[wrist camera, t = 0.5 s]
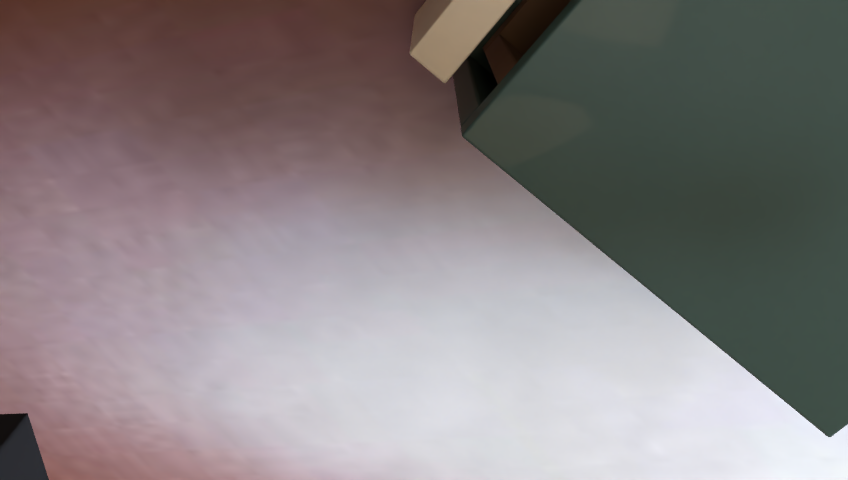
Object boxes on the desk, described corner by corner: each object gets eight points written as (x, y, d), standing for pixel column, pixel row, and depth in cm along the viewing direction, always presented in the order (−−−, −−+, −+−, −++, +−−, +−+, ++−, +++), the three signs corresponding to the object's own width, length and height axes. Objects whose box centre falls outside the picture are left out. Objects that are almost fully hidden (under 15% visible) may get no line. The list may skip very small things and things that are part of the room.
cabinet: (450, 64, 27) (461, 136, 19) (733, -275, 23) (921, -391, 14) (716, 290, 31) (829, 438, 22) (1003, 33, 27) (1282, 90, 18)
